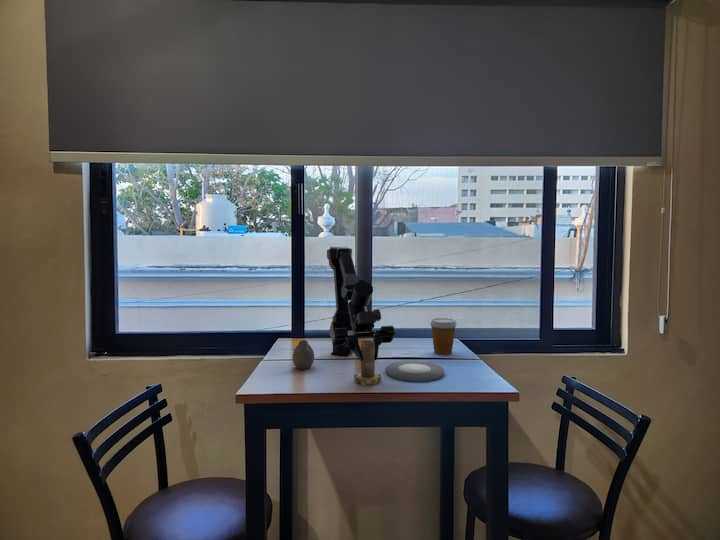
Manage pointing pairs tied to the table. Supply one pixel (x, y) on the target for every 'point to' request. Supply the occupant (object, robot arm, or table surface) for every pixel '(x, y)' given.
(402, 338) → the table surface
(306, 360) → the vase
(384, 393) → the table surface
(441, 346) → the disposable coffee cup
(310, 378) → the table surface
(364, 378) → the gear
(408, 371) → the disc
